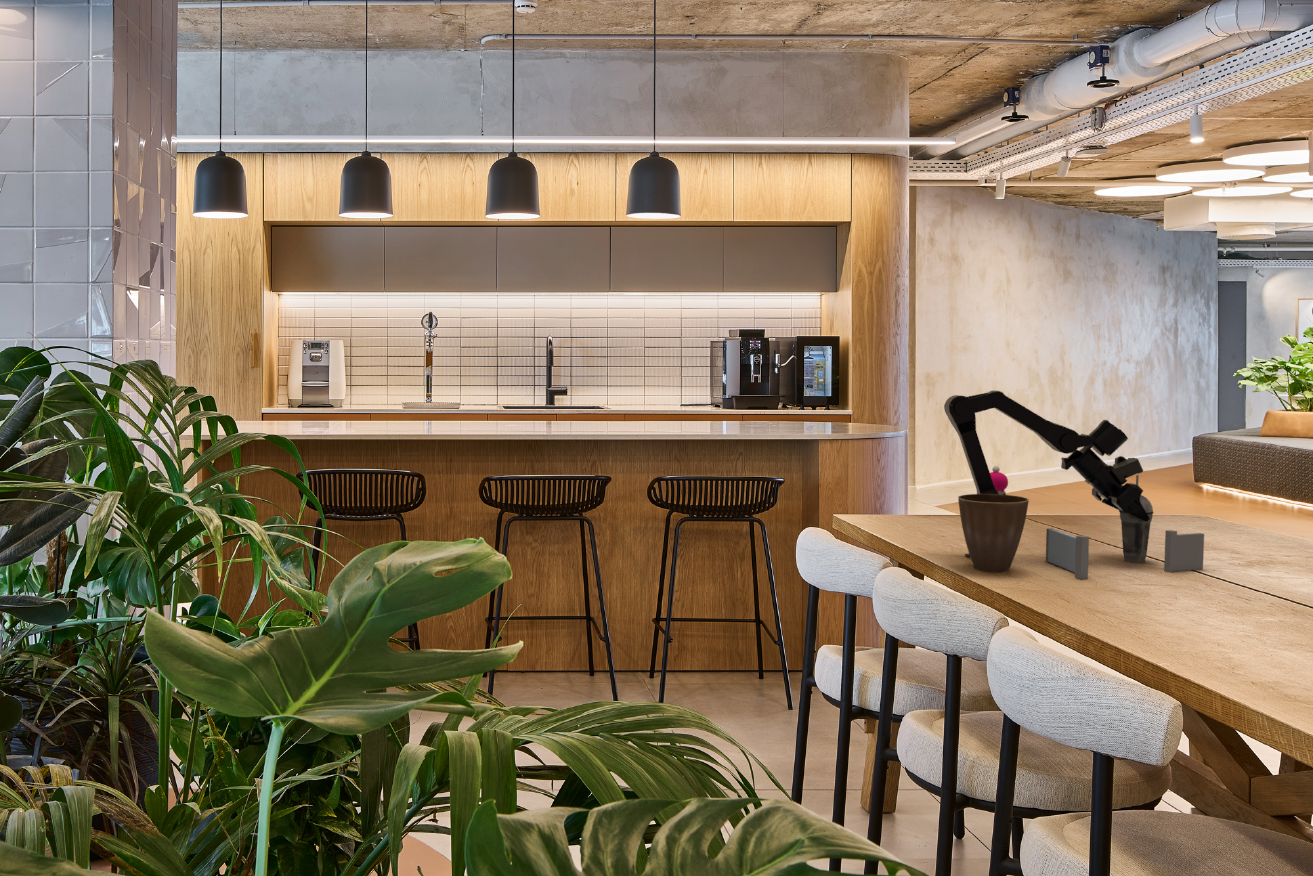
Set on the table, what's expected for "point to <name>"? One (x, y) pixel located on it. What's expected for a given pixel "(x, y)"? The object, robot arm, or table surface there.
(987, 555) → the plant pot
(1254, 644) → the table surface
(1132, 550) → the beverage cup
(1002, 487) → the pepper mill
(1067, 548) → the grey thin rectangular panel
